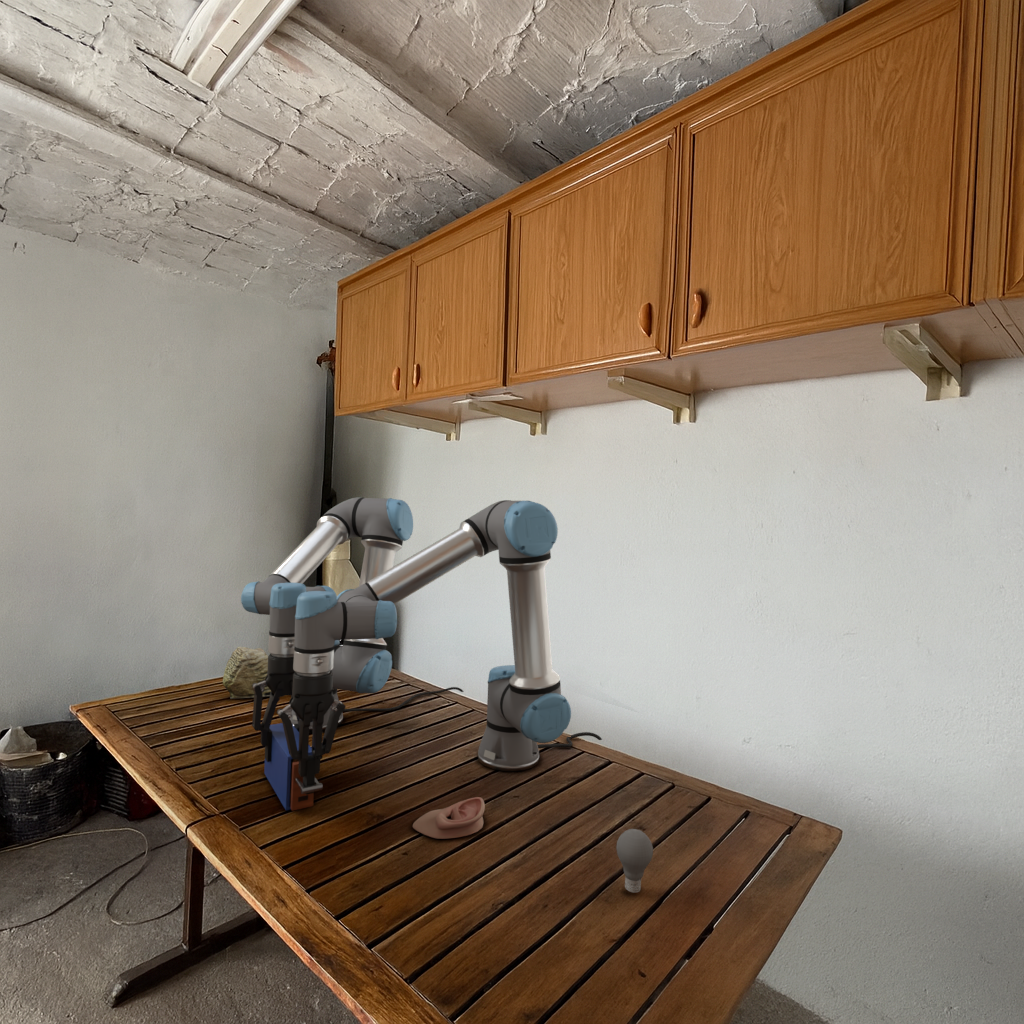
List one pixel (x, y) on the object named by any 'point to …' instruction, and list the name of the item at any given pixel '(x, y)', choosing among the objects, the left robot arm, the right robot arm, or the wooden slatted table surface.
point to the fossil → (245, 672)
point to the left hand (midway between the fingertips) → (282, 756)
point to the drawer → (301, 789)
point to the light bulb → (634, 857)
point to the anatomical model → (453, 820)
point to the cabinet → (281, 764)
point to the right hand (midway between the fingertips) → (308, 790)
